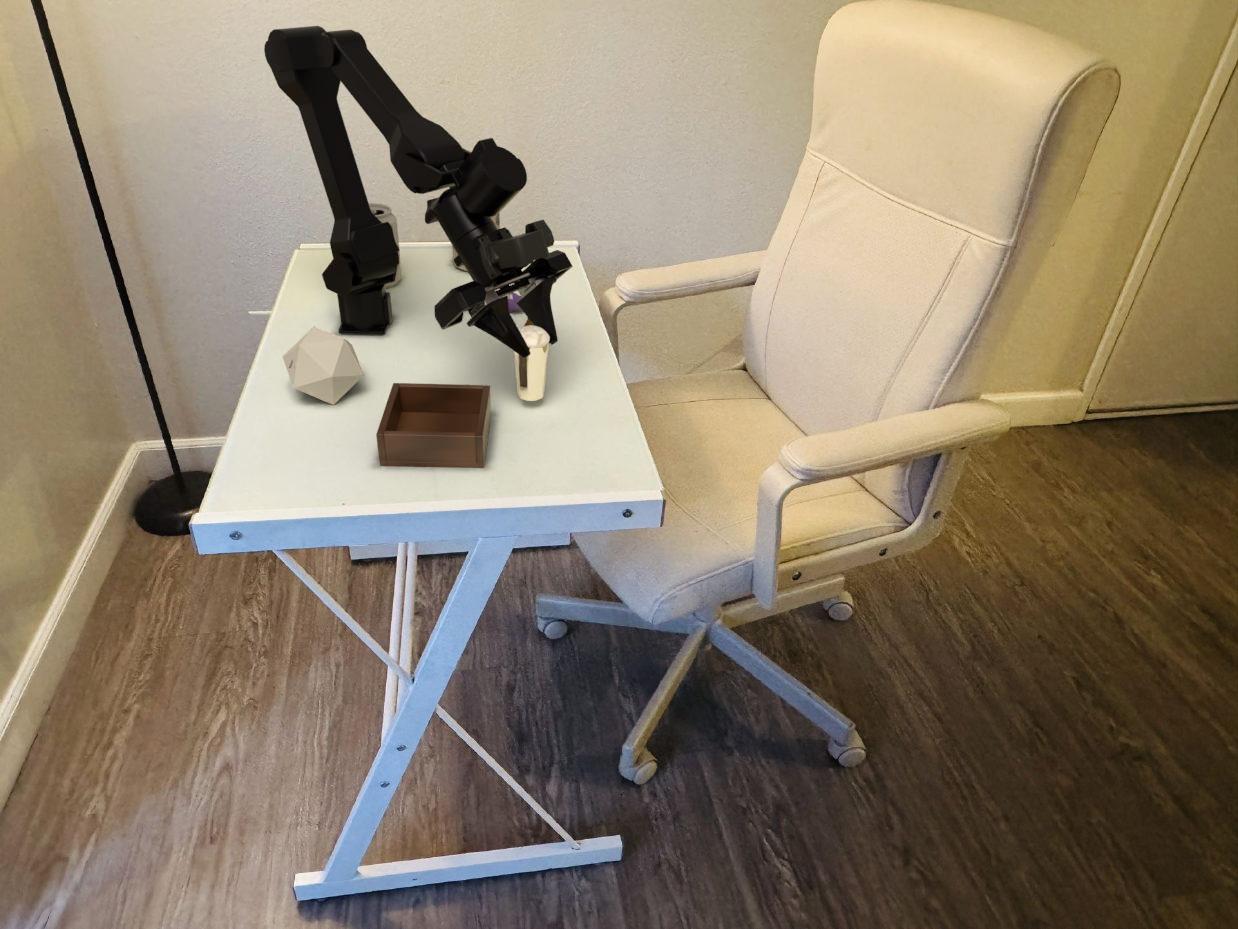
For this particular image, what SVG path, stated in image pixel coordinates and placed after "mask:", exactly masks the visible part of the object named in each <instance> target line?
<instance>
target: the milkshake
mask: <svg viewBox="0 0 1238 929" xmlns="http://www.w3.org/2000/svg"><path fill="white" fill-rule="evenodd" d="M518 329H519V331H520V333H521V335H522V336H523V338H524V340H525V342H526V344H527V346H528V348H529V351H530V355H529V356H528V357H526V358H524V357H522V356H521V355H519V354H518V353H516V352H515V351H513V357H514V367H515V369H514V370H515V378H516V388H517V389H516V390H517V395H518V397H519V398H520V399H521V400H524V401H527V402H536V401H538V400H541V399H542V398H543V397H544V394H545V390H546V388H545V387H546V376H547V366H548V357H549V356H548V355H549V350H550V343H549V341H550V337H549V335H548V333H547V332H546V331H545V330H544V329H542V328H541V327H538V326H533V324H532V325H529V326H524V325H523V326H521V327H520V328H519V327H518Z"/></svg>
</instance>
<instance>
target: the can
mask: <svg viewBox="0 0 1238 929" xmlns="http://www.w3.org/2000/svg"><path fill="white" fill-rule="evenodd" d="M368 203H369V206H370V209H371V211H372V213H373V214H374V215H375V216H376V217H377V218H378V219H379V220H380V221H381V222H382V223H384V222H389V224H390V225H391V226H392V229H393V234H394V238H395V241H396V244H397V246H398V248H399V249H400V242H399V230H398V219H397V217H396V215H394V214H393V213H392V209H393V208H391V207H390V206H389V205H387V204H383V203H377V202H376V203H375V202H371V203H370V202H368ZM400 252H401V251H398V253H399V265H398V267H397V272H396V278H395V282H392V283H391V282H390V283H387V284H385V285H386V289H390V288H392V287H394V286H396V285H397V284H398V282H399V281H400V280H401V279H402V276H403V274H402V262H401V253H400Z"/></svg>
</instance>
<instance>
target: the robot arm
mask: <svg viewBox="0 0 1238 929" xmlns="http://www.w3.org/2000/svg"><path fill="white" fill-rule="evenodd" d="M367 45H368V44H367V43H366V40H365V38H364V36H363V35H362V34H361V33H360V32H359V31H355V30H354V29H342V30H341V29H340V30H329V31H327V30H326V29H325V28H323V27H322V26H320V25H313V26H312V25H309V26H300V27H287V28H276V29H272V30H271V31H270V32H269V34H268V37H267V40H266V41H265V43H264V46H263V47H264V48H263V50H264V51H263V53H264V57H265V60H266V63H267V64H268V66H269V68H270V70H271V73H272V74H273V77H274V79H275V82H276V84H277V86H278V88H279V89H280V90H281V91H282V92H283V93H284V94H285V96H287V97H288V98H289V99H290V101H291V102H293V103H294V104H295V106H297V108H298V110H299V113H300V116H301V119H302V123H303V125H304V129H305V132H306V135H307V138H308V141H309V144H310V148H311V151H312V153H313V154H312V155H313V157H314V160H315V164H316V166H317V169H318V172H319V175H320V178H321V182H322V185H323V187H324V191H325V194H326V197H327V201H328V204H329V207H330V209H331V212H332V216H333V219H334V222H333V226H332V231H331V236H330V240H329V246H330V251H331V254H332V260H331V261H330V263H329V264H328V265H327V266H326V268H325V269H324V270H323V272H322V273H321V277H322V279H323V283H324V285H325V288H326V290H328V291H330V292H333V293H334V294H336V295H337V302H338V310H339V317H340V318H339V319H340V326H339V327H338V329H337V330H338V333H339V334H340V335H341V334H342V335H373V336H375V335H379V336H383V335H385V334H386V332H387V330H388V328H389V326H390V325H391V323H392V321H393V307H392V306H393V305H392V296H391V293H390V292H389V291H387V288H386V285H385V284H387V283H390V282H391V283H392V282H395V278H396V272H397V267H398V265H399V253H398V251H400V247H399V248H398V246H397V244H396V241H395V238H394V234H393V229H392V226H391V225H390V224H389V222H384V223H382V222H381V221H380V220H379V219H378V218H377V217H376V216H375V215H374V214H373V213H372V211H371V209H370V206H369V203H370V202H369V200H368V196H367V193H366V189H365V186H364V183H363V180H362V178H361V177H362V176H361V173H360V171H359V167H358V164H357V163H358V162H357V161H356V157H355V154H354V151H353V148H352V143H351V140H350V138H349V137H350V136H349V134H348V130H347V128H346V124H345V121H344V118H343V115H342V111H341V108H340V105H339V101H338V96H339V92H340V87H341V84H342V85H343V86H344V88H346V90H347V91H348V92H349V94H350V95H351V96H352V98H353V99H354V100H355V101H356V103H357V104H358V105H359V106H360V108H361V109H362V110H363V112H364V113H365V114H366V115H367V117H368V118H369V120H370V121H371V123H373V124H374V126H375V127H376V128H377V130H378V131H379V132H380V133H381V134H382V136H383V137H384V139H385V141H386V142H387V144H388V146H389V148H388V149H389V159H390V163H391V164H392V166H393V168H394V169H395V171H396V173H397V175H398V176H399V177H400V179H401V181H402V182H403V184H404V185H405V187H406V188H407V189H408V190H409V191H410V192H412V193H413V194H419V195H421V194H422V195H424V194H425V195H426V194H428V193H432V192H436V191H440V190H443V189H445V190H444V191H442V193H441V194H440V195H439V196H438V197H435V198H431V199H428V200H426V210H425V213H424V223H425V224H426V225H431V224H433V223H437V222H438V224H439V225H440V227H441V228H442V230H443V232H444V233H445V234H444V235H446V237H447V238H448V241H449V242H450V243H451V246H452V245H453V247H454V249H455V251H456V252H457V254H458V256H457V257H456V258H455V259H454V260H453V259H452V262H453V261H454V262H455V264H456V266H457V267H460V266H463V265H464V266H465V268H466V269H467V271H466V272H467V273H468V275H469V276H470V278H471V279H472V281H469V282H467V283H464V284H461V285H458V286H456V287H452V288H451V289H450V290H449V291H448V292H447V293H446V294H445V295H444V296H443V297H442V298H441V299H440V300H439V301H438V302H437V303H436V304H434V318H435V320H436V321H437V323H438V325H439V326H440V328H441V330H447V329H449V328H451V327H453V326H456V325H458V324H461V323H462V322H463V319H464V313H465V312H468V315H469V317H470V319H469V320H467V322H466V325H467V327H469V328H470V327H476V328H477V329H479V330H480V331H482V332H484V333H486V334H488V335H489V336H491V337H493V338H494V339H495V340H497V341H499V342H500V343H502V344H503V345H505V346H506V347H508V348H509V349H510V350H512V351H513V352H514V351H515V352H516V353H518V354H519V355H521V356H522V357H524V358H526V357H528V356H529V355H530V351H529V348H528V346H527V344H526V342H525V340H524V338H523V336H522V335H521V333H520V331H519V327H518V326H517V323H516V322H515V321H514V319H513V317H512V315H511V312H509V306H508V296H505V295H508V294H510V293H515V292H518V294H519V296H521V297H522V299H521V300H520V301H519V302H517V305H518V306H519V307H520V308H521V311H522V312H523V314H524V315H525V316H526V317H528V318H529V319H530V321H531V322H532V323H533V324H534V326H538V327H541V328H542V329H544V330H545V331H546V332H547V333H548V335H549V337H550V341H549V345H551V346H553V345H555V344H557V343H558V340H559V339H558V333H557V329H556V325H555V324H556V323H555V319H554V315H553V310H552V302H551V293H552V289H553V285H554V284H556V282H557V280H559V279H560V278H561V277H562V276H563V275H565V274H566V273H567V272H568V271H570V269H572V268H573V267H574V266H573V264H572V262H571V261H570V259H569V258H568V256H567V254H566V252H564V251H562V250H559V249H556V250H553V251H550V252H549V249H548V248H549V247H550V248H551V247H553V246H554V244H555V238H554V237H555V236H554V235H553V232H552V229H551V228H550V227H549V225H548V224H547V222H546V221H545V219H540V220H535V221H533V222H531V223H527V224H525V227H524V228H525V229H524V233H521V234H519V235H515V236H513V235H512V233H511V231H510V230H509V229H508V228H507V227H500V229H498V228H497V226H496V225H495V223H494V221H493V220H492V218H491V217H492V216H495V215H497V214H498V213H499V214H500V213H501V212H502V211H503V210H504V208H506V206H507V205H508V204H509V203H511V201H512V200H513V199H514V198H515V197H516V196H517V195H518V194H519V193H520V192H521V191H522V190H523V189H524V188H525V186H526V184H527V181H528V173H527V170H526V167H525V165H524V163H523V161H522V160H521V159H520V158H517V156H516V155H515V154H514V153H513V152H511V151H510V150H508V149H507V148H505V147H501V146H499V145H497V143H496V140H494V138H493V137H489V138H483V139H479V140H478V141H477V142H476V143H475V145H474V146H473V149H472V150H471V151H472V152H469V151H470V150H467V149H466V148H463V147H462V145H461V144H460V143H459V141H457V139H456V138H455V137H454V136H453V135H452V134H450V133H449V131H447V130H446V129H445V128H444V127H443V126H442V125H440V124H438V123H436V122H434V121H432V120H430V119H428V118H426V117H424V116H423V115H422V114H421V113H419V112H418V110H417V109H416V108H415V107H414V106H413V104H412V103H411V102H410V101H409V99H408V98H407V97H406V95H405V94H404V93H403V92H402V90H401V88H399V87H398V86H397V84H396V83H395V82H394V80H393V79H392V77H390V75H389V73H387V71H386V70H385V69H384V68H383V66H382V65H381V64H380V62H378V60H377V59H376V57H375V56H374V55H373V54H372V52H371V51H370V50H369V49H368V46H367ZM451 186H456V187H455V188H450V189H449V187H451ZM400 252H401V251H400ZM456 266H455V267H456ZM457 267H456V268H457ZM523 269H524V270H523ZM503 296H504V297H503ZM500 297H502V298H500ZM528 318H527V319H528ZM533 324H532V325H533Z"/></svg>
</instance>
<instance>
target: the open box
mask: <svg viewBox="0 0 1238 929" xmlns="http://www.w3.org/2000/svg"><path fill="white" fill-rule="evenodd" d="M491 397H492V396H491V385H487V384H486V385H484V384H454V383H453V384H450V383H448V384H447V383H414V382H413V383H411V382H409V383H408V382H407V383H406V382H393V383H392V386H391V389H390V392H389V395H388V398H387V401H386V404H385V407H384V409H383V413H382V416H381V419H380V423H379V425H378V428H377V431H376V434H375V435H376V445H377V452H378V461H379V466H381V467H382V466H383V467H433V468H434V467H436V468H437V467H439V468H485V462H486V455H487V447H488V440H489V433H490V432H489V431H490V426H491V417H492V403H491V402H492V400H491Z"/></svg>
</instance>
